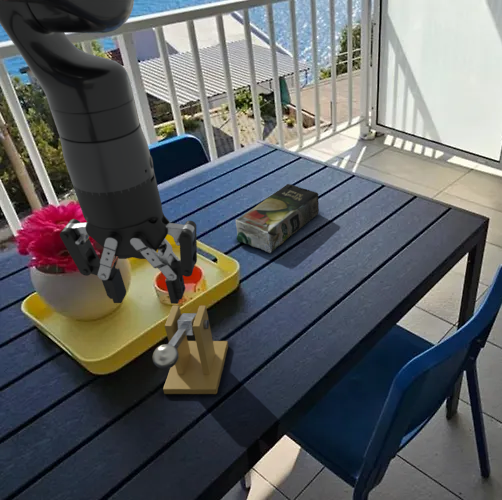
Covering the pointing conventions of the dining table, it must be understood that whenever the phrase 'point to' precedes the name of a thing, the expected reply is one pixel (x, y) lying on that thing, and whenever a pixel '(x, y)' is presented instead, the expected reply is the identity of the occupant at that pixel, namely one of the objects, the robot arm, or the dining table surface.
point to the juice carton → (277, 217)
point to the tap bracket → (195, 357)
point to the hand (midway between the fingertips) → (148, 298)
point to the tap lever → (174, 342)
